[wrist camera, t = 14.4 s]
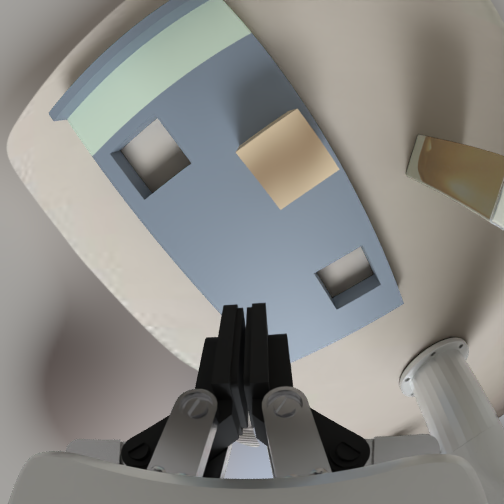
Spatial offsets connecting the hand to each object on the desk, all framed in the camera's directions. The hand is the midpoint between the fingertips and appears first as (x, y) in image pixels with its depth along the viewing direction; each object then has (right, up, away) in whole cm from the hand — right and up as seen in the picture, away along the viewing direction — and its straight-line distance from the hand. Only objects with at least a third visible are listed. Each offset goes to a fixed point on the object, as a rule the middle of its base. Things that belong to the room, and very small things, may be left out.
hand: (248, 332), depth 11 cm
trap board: (0, +7, +13) cm, 15 cm away
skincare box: (+17, +12, +11) cm, 23 cm away
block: (+2, +11, +9) cm, 14 cm away
